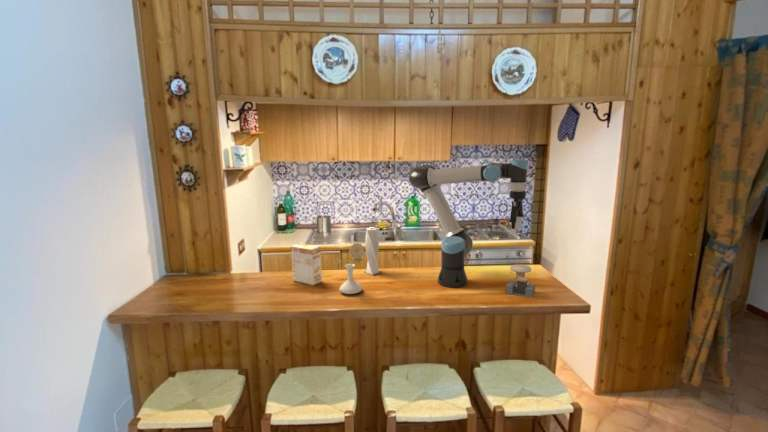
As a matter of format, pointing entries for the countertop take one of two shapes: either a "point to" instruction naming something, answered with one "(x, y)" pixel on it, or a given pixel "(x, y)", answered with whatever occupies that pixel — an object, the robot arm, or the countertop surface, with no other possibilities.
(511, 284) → the notch board
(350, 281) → the flower in vase
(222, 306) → the countertop surface
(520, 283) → the tan and grey block
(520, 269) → the bobbin
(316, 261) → the coffeecake box
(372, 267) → the skyscraper
